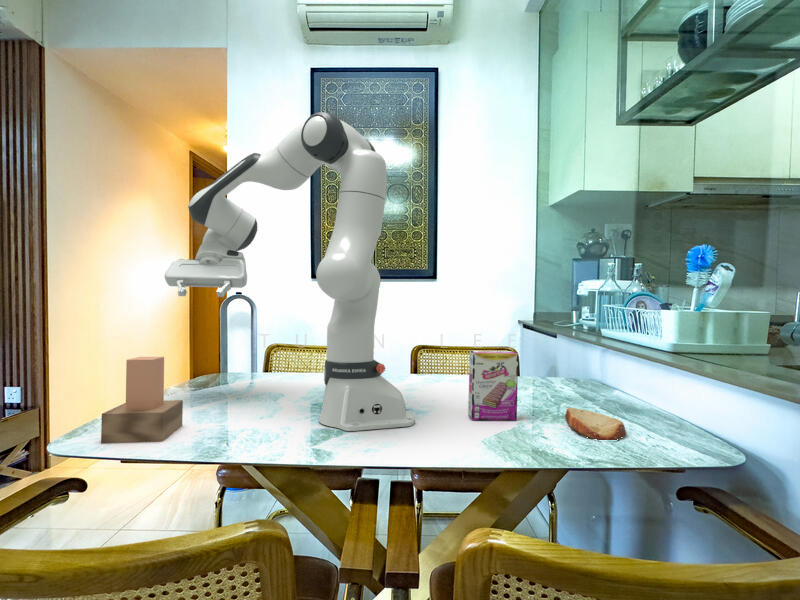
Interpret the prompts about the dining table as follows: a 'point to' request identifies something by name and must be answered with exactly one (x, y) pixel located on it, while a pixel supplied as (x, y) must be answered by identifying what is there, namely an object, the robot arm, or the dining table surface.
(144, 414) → the walnut block
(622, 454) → the dining table surface
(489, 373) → the candy bar box
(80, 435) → the dining table surface
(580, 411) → the slice of bread
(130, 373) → the terracotta block
